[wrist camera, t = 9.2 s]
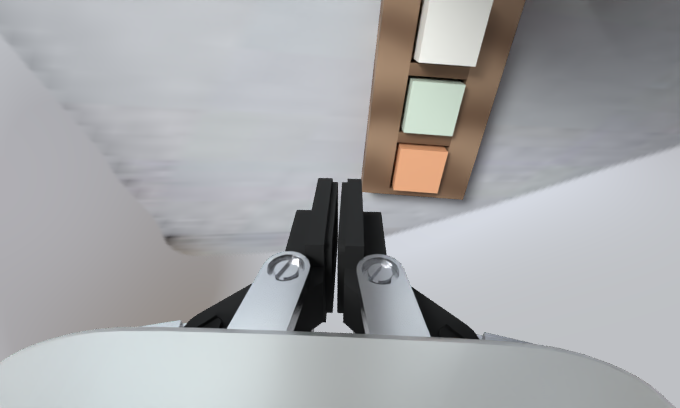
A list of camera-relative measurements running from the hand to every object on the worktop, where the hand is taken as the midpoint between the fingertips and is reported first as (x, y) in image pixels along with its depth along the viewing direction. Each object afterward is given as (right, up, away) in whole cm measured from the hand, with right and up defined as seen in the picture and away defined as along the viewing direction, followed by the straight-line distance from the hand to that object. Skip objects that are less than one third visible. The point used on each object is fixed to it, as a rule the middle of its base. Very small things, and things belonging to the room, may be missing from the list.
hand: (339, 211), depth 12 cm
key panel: (+9, +11, +19) cm, 24 cm away
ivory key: (+9, +15, +14) cm, 23 cm away
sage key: (+8, +10, +18) cm, 23 cm away
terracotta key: (+8, +5, +22) cm, 24 cm away
